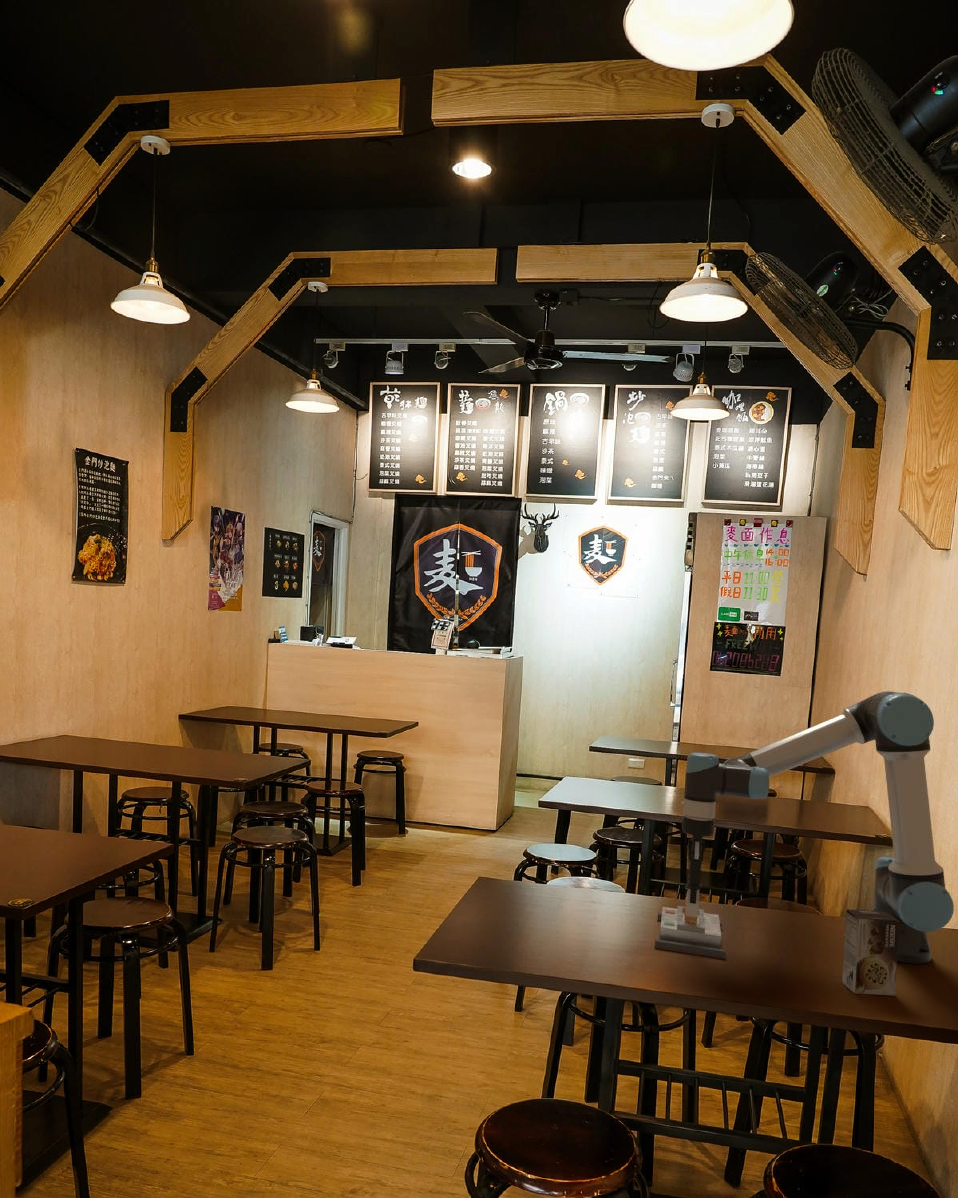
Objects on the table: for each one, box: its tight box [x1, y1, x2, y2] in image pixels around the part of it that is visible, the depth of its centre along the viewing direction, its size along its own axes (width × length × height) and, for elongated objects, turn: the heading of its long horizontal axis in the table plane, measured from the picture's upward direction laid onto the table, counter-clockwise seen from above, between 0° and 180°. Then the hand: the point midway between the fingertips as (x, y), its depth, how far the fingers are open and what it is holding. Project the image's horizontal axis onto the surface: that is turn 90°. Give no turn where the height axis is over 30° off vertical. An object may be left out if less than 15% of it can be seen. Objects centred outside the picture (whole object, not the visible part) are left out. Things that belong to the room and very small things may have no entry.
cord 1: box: [657, 912, 723, 930], centre depth 230 cm, size 16×2×2 cm, turn 77°
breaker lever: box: [684, 896, 697, 922], centre depth 220 cm, size 3×2×5 cm, turn 76°
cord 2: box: [654, 938, 727, 960], centre depth 208 cm, size 16×2×2 cm, turn 77°
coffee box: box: [841, 908, 899, 996], centre depth 194 cm, size 9×6×16 cm
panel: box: [659, 905, 722, 949], centre depth 219 cm, size 14×18×5 cm
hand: (691, 915), depth 216 cm, fingers closed
